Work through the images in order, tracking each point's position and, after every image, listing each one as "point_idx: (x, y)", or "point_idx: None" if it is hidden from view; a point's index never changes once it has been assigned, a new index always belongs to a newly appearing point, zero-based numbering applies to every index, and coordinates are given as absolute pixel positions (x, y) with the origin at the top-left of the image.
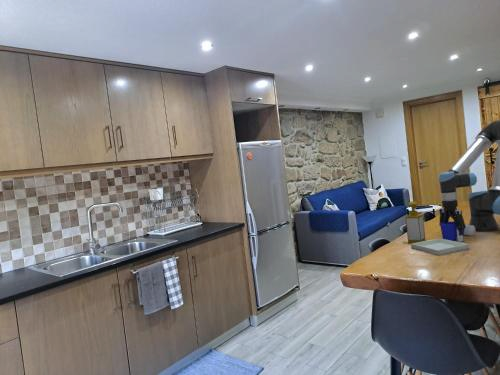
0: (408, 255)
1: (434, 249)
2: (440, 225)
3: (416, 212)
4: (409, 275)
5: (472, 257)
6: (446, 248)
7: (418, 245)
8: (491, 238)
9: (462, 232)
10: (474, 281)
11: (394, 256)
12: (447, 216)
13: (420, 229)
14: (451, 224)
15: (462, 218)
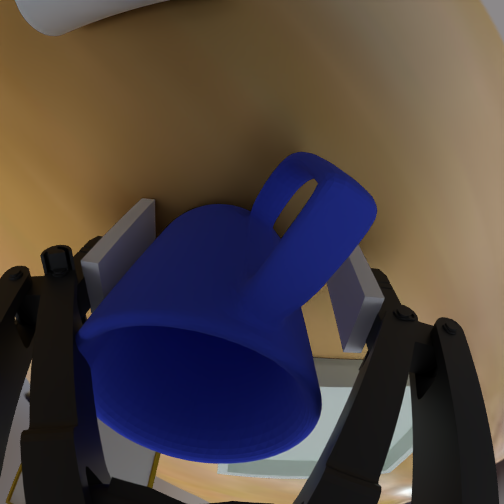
0: (294, 483)
1: None
2: (155, 429)
3: None
4: (398, 501)
5: (492, 407)
6: (409, 454)
7: (272, 477)
8: (461, 5)
9: (391, 296)
10: (501, 456)
11: (267, 494)
12: (103, 482)
13: (139, 475)
14: (301, 438)
15: (482, 453)
